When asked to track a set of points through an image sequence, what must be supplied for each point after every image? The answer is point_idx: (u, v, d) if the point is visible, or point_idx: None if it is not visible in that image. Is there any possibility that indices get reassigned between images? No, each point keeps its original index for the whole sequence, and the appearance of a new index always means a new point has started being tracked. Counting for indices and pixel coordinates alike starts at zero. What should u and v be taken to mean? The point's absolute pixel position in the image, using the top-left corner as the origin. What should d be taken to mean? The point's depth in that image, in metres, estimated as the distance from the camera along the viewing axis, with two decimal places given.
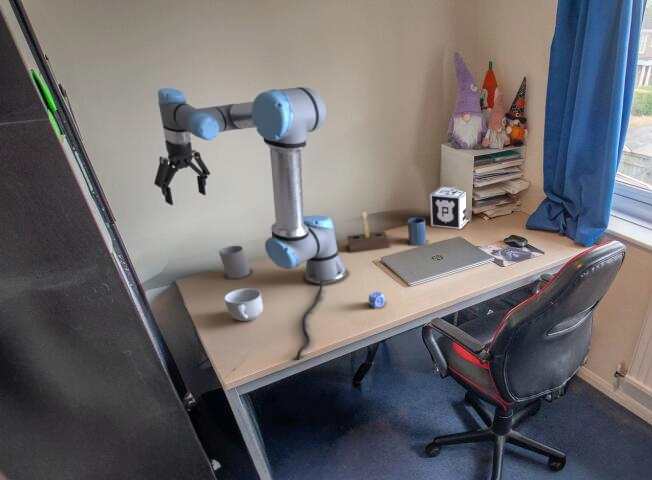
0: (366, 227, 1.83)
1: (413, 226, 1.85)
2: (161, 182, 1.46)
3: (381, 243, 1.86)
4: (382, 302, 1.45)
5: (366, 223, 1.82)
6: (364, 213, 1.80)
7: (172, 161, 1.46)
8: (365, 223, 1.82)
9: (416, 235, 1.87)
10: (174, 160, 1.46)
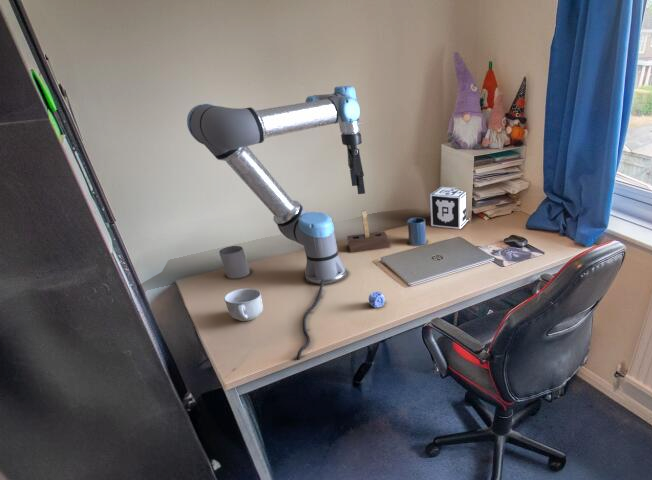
0: (366, 227, 1.83)
1: (413, 226, 1.85)
2: (348, 162, 1.77)
3: (381, 243, 1.86)
4: (382, 302, 1.45)
5: (366, 223, 1.82)
6: (364, 213, 1.80)
7: None
8: (365, 223, 1.82)
9: (416, 235, 1.87)
10: (348, 147, 1.69)
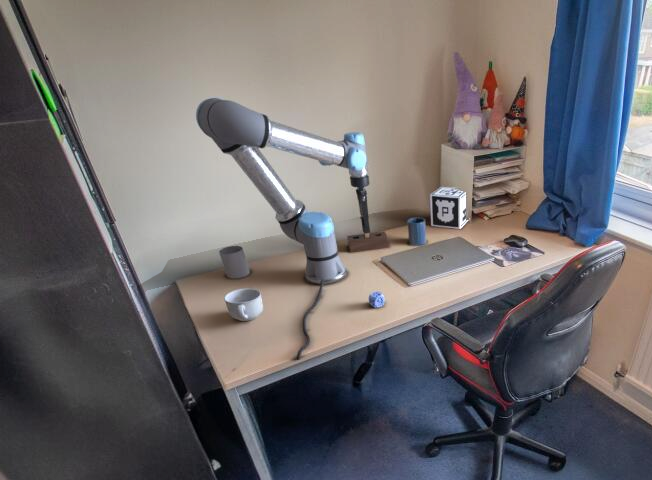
0: None
1: (413, 226, 1.85)
2: (359, 208, 1.83)
3: (381, 243, 1.86)
4: (382, 302, 1.45)
5: None
6: None
7: None
8: None
9: (416, 235, 1.87)
10: (357, 188, 1.77)
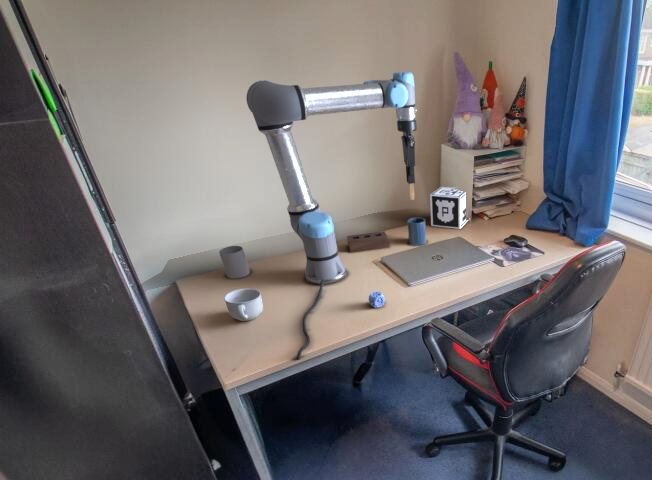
0: None
1: (413, 226, 1.85)
2: (404, 157, 1.76)
3: (381, 243, 1.86)
4: (382, 302, 1.45)
5: None
6: None
7: None
8: None
9: (416, 235, 1.87)
10: (403, 134, 1.70)
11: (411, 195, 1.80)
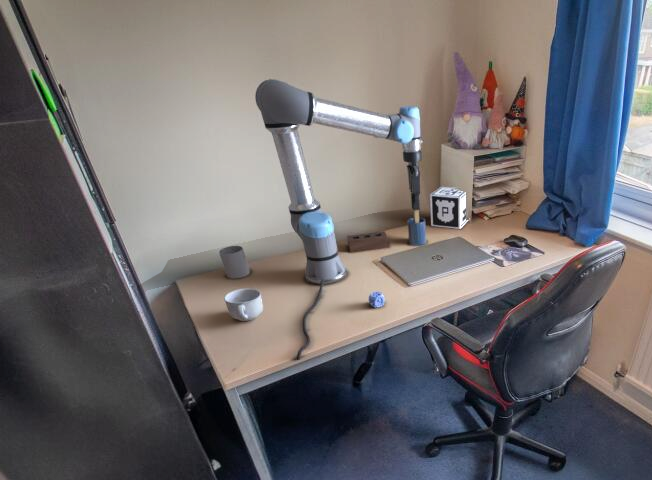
0: None
1: (413, 226, 1.85)
2: (409, 185, 1.82)
3: (381, 243, 1.86)
4: (382, 302, 1.45)
5: None
6: None
7: None
8: None
9: (416, 235, 1.87)
10: (408, 164, 1.76)
11: (416, 221, 1.86)
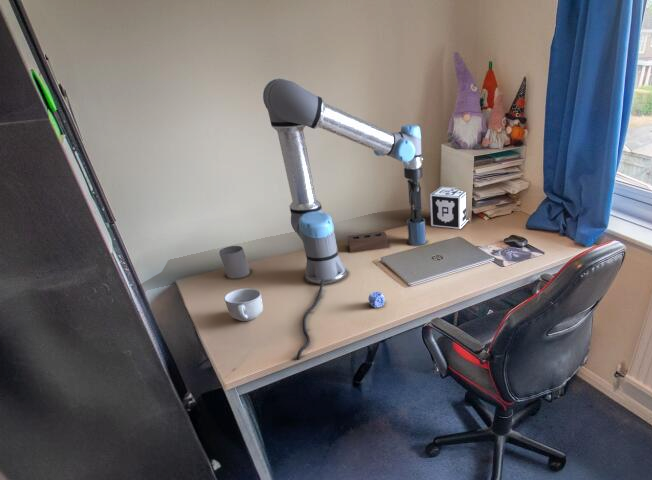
0: None
1: (413, 226, 1.85)
2: (409, 199, 1.87)
3: (381, 243, 1.86)
4: (382, 302, 1.45)
5: None
6: None
7: None
8: None
9: (416, 235, 1.87)
10: (409, 180, 1.80)
11: None
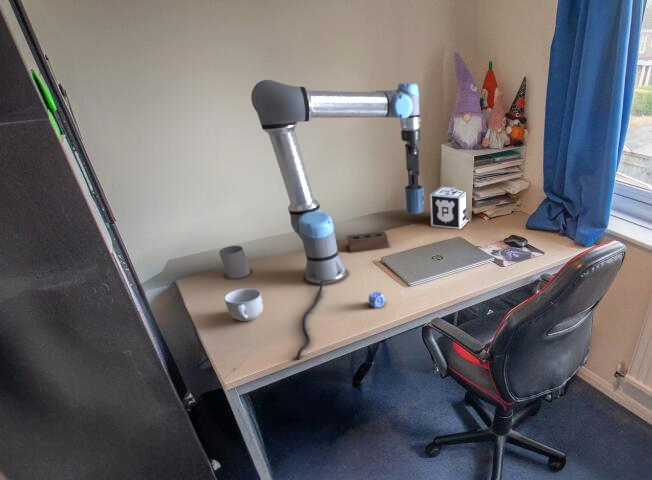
0: None
1: (410, 193, 1.77)
2: (406, 164, 1.79)
3: (381, 243, 1.86)
4: (382, 302, 1.45)
5: None
6: None
7: None
8: None
9: (413, 202, 1.79)
10: (406, 144, 1.72)
11: None
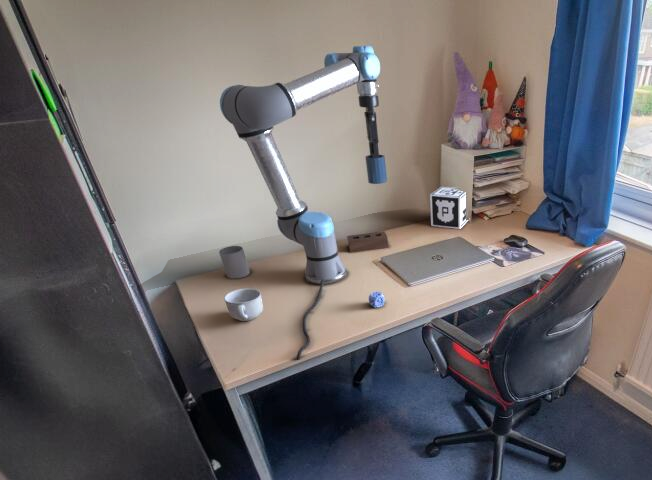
0: None
1: (371, 162, 1.73)
2: (367, 133, 1.75)
3: (381, 243, 1.86)
4: (382, 302, 1.45)
5: None
6: None
7: None
8: None
9: (374, 172, 1.75)
10: None
11: None
